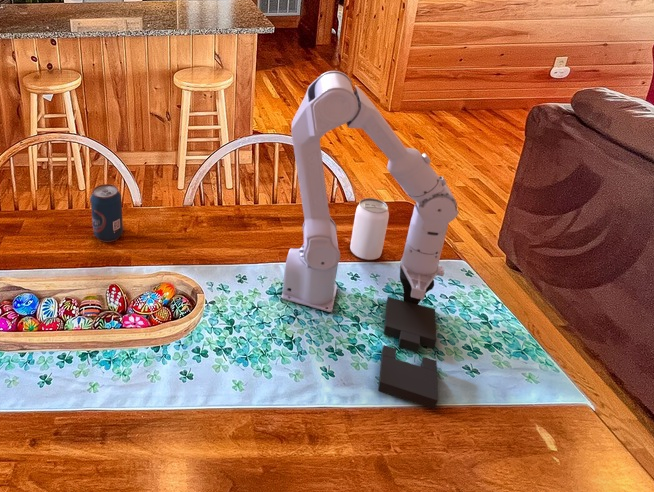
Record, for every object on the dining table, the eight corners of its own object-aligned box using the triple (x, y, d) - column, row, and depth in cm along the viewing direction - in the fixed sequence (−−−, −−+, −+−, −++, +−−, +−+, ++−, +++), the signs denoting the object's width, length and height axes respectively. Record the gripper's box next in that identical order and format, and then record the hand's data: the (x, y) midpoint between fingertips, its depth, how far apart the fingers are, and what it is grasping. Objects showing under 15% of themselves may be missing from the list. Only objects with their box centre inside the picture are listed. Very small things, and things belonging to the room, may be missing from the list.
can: (383, 262, 108) (393, 214, 103) (351, 259, 109) (359, 212, 104) (378, 244, 113) (387, 198, 108) (347, 241, 114) (355, 195, 110)
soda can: (87, 234, 119) (83, 190, 114) (111, 222, 123) (108, 179, 118) (105, 247, 114) (102, 202, 109) (129, 234, 119) (127, 190, 114)
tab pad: (382, 342, 88) (384, 333, 87) (386, 304, 96) (387, 296, 96) (434, 357, 85) (436, 348, 84) (432, 317, 93) (435, 308, 92)
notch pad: (378, 390, 80) (380, 381, 79) (381, 353, 86) (383, 344, 85) (435, 409, 76) (437, 400, 76) (434, 369, 83) (436, 360, 82)
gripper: (451, 275, 82) (434, 337, 88) (447, 227, 94) (432, 285, 100) (404, 264, 85) (390, 325, 90) (406, 219, 97) (393, 275, 102)
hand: (409, 303), depth 95 cm, fingers closed
